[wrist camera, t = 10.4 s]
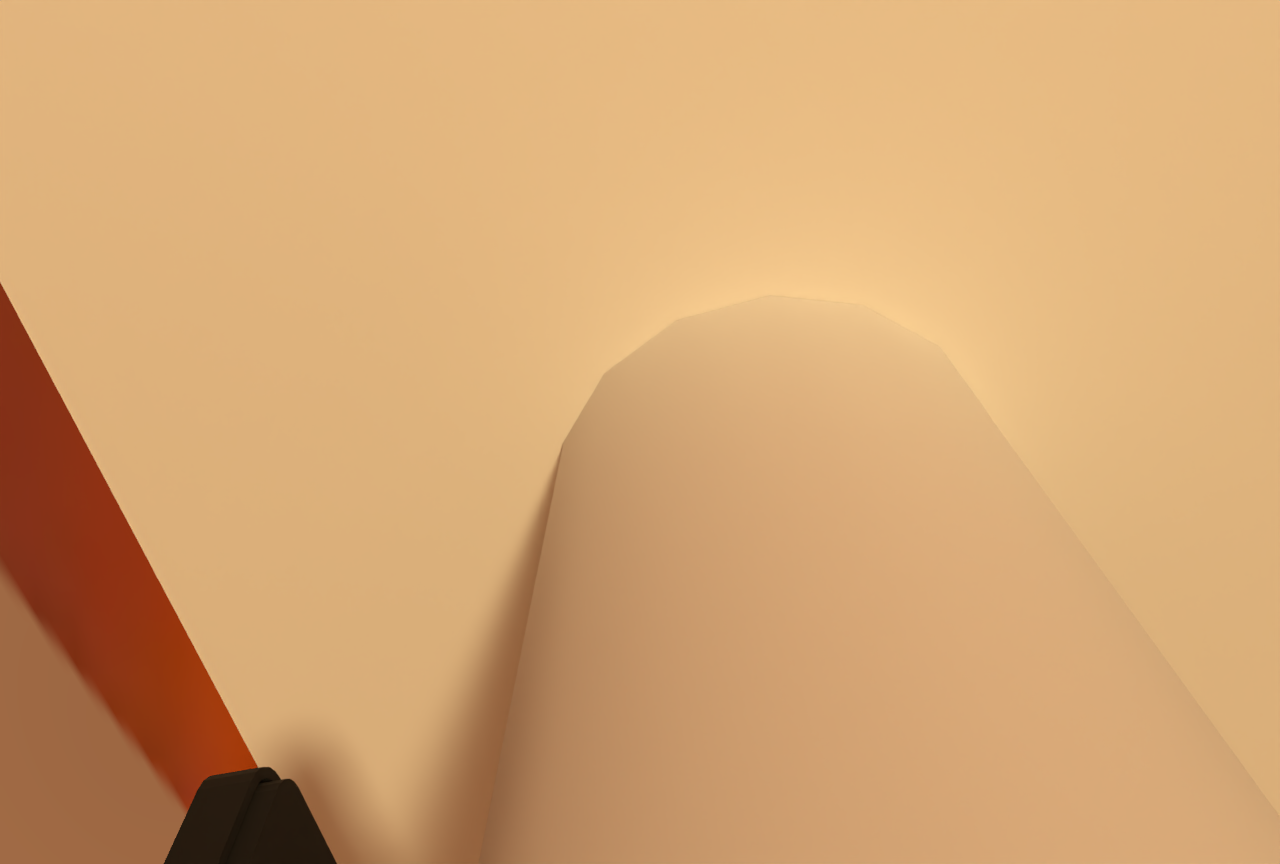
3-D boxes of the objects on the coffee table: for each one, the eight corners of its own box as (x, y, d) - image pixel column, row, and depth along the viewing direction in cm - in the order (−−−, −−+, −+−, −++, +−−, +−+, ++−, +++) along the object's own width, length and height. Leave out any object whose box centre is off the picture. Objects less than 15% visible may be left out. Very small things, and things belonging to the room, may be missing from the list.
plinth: (1252, 709, 20) (1330, 821, 17) (392, 849, 21) (364, 967, 19) (1320, -370, 12) (1474, -414, 10) (-24, -30, 14) (-150, -1, 11)
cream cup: (662, 754, 17) (697, 1792, 8) (422, 405, 14) (50, 1430, 5) (1095, 588, 15) (1731, 1633, 6) (927, 160, 12) (1665, 994, 4)
